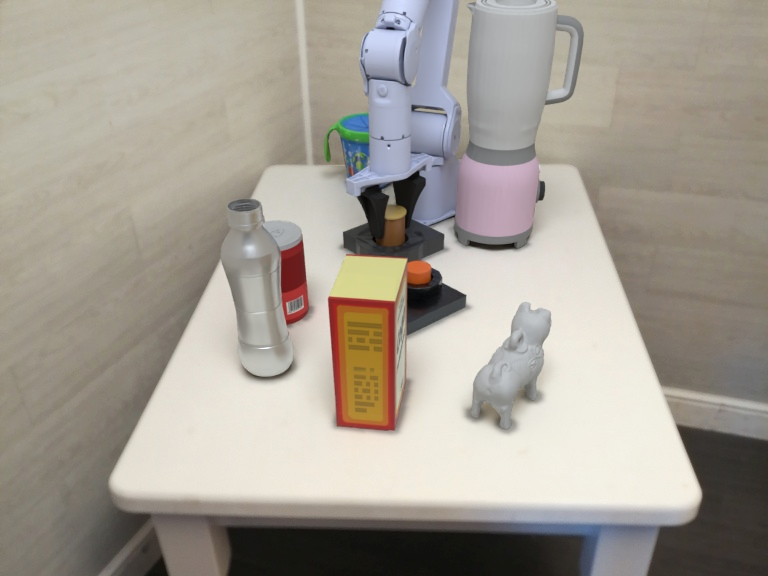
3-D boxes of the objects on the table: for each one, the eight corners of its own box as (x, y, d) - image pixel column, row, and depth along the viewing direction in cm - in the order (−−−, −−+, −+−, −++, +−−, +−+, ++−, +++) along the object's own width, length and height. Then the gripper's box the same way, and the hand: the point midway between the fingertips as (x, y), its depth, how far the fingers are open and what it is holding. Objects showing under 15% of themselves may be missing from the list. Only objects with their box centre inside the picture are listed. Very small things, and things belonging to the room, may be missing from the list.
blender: (454, 252, 110) (470, -1, 88) (451, 218, 119) (464, -20, 96) (557, 252, 110) (600, -2, 87) (547, 218, 118) (583, -21, 96)
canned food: (313, 298, 101) (307, 220, 93) (303, 328, 95) (295, 248, 87) (260, 296, 101) (248, 218, 94) (246, 326, 96) (233, 246, 88)
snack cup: (418, 176, 132) (420, 115, 124) (403, 199, 125) (404, 136, 117) (337, 168, 135) (334, 108, 128) (318, 190, 128) (314, 128, 120)
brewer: (416, 281, 104) (416, 258, 101) (465, 307, 99) (467, 284, 96) (357, 307, 99) (356, 283, 96) (406, 336, 94) (406, 312, 91)
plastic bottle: (287, 386, 86) (265, 220, 72) (233, 380, 87) (201, 215, 73) (302, 356, 91) (284, 195, 76) (250, 351, 92) (224, 190, 77)
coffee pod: (391, 230, 111) (391, 201, 108) (412, 241, 109) (413, 211, 105) (367, 240, 109) (367, 210, 106) (388, 250, 106) (388, 220, 103)
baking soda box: (352, 377, 87) (346, 250, 76) (405, 381, 87) (407, 254, 75) (337, 426, 81) (327, 295, 69) (394, 431, 80) (394, 299, 69)
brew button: (418, 270, 100) (418, 258, 99) (436, 279, 98) (436, 267, 97) (398, 278, 98) (399, 266, 97) (416, 288, 96) (417, 275, 95)
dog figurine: (552, 380, 87) (568, 298, 79) (506, 437, 79) (518, 353, 71) (512, 366, 89) (523, 286, 81) (463, 421, 81) (470, 338, 73)
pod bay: (396, 226, 117) (396, 211, 115) (446, 251, 111) (447, 235, 109) (337, 249, 111) (336, 233, 110) (387, 276, 105) (387, 260, 103)
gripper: (409, 114, 103) (408, 209, 113) (329, 138, 97) (335, 237, 107) (443, 126, 100) (439, 223, 109) (363, 152, 93) (366, 253, 103)
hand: (390, 231), depth 108 cm, fingers closed on coffee pod, 5 cm apart
